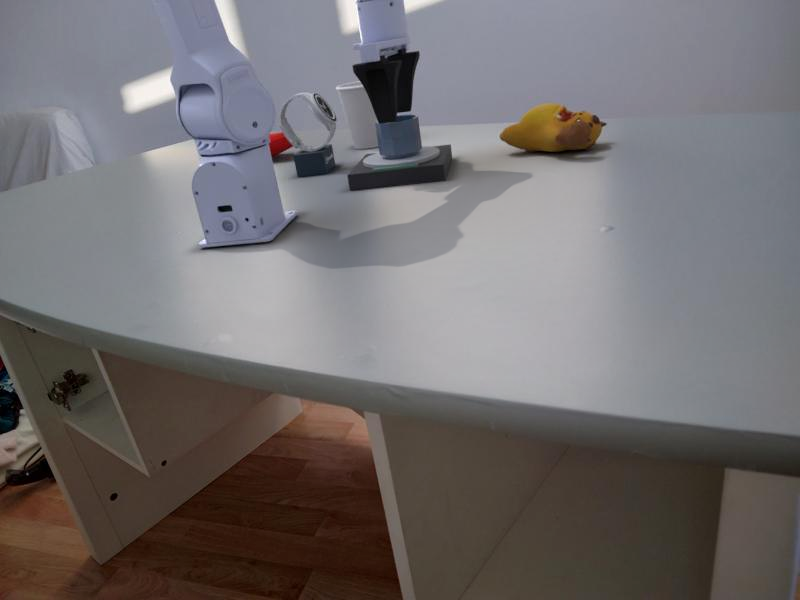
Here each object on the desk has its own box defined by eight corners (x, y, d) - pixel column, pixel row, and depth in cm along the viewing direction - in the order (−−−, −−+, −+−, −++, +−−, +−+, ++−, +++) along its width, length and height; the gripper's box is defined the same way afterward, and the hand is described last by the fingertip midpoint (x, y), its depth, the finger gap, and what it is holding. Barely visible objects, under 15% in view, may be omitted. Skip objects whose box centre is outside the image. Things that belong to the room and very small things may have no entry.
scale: (445, 180, 78) (443, 160, 77) (349, 190, 80) (346, 170, 79) (452, 158, 89) (450, 140, 88) (368, 168, 91) (365, 150, 90)
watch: (339, 172, 91) (325, 92, 87) (286, 178, 93) (269, 99, 88) (348, 163, 96) (335, 87, 92) (297, 169, 98) (281, 94, 93)
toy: (553, 110, 92) (638, 112, 79) (544, 156, 93) (627, 164, 81) (493, 96, 86) (574, 95, 74) (484, 145, 87) (563, 152, 75)
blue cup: (430, 149, 84) (425, 113, 82) (409, 159, 80) (404, 122, 78) (394, 150, 87) (389, 115, 85) (372, 160, 83) (366, 124, 81)
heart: (241, 167, 114) (228, 174, 105) (232, 144, 113) (218, 148, 104) (304, 146, 114) (297, 151, 104) (296, 123, 112) (287, 125, 103)
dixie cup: (367, 139, 113) (358, 80, 109) (405, 139, 108) (397, 77, 104) (336, 150, 107) (325, 88, 103) (374, 150, 102) (364, 85, 98)
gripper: (365, 3, 84) (381, 110, 89) (326, 6, 71) (347, 131, 76) (418, -5, 82) (431, 105, 87) (387, -4, 69) (404, 125, 74)
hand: (395, 117), depth 82 cm, fingers open, 7 cm apart
